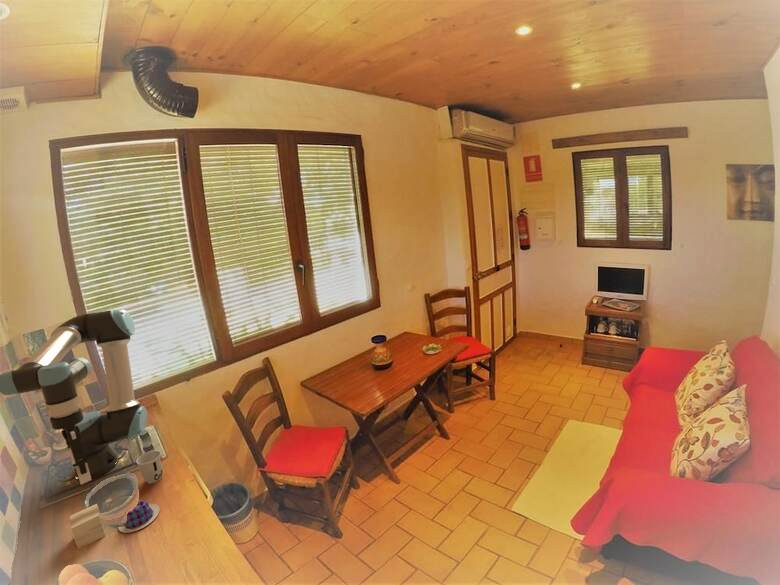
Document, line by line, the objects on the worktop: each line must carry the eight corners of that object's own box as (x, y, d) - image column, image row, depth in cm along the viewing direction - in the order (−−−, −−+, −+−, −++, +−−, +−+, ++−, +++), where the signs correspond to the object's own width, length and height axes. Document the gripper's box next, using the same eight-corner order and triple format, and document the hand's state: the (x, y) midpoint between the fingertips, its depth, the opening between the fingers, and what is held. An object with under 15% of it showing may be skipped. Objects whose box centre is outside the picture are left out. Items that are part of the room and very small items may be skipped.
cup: (158, 486, 143) (152, 463, 141) (137, 487, 143) (131, 464, 141) (170, 471, 151) (165, 449, 148) (150, 472, 151) (145, 450, 149)
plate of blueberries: (156, 500, 136) (153, 487, 135) (162, 519, 127) (159, 506, 126) (116, 519, 129) (113, 506, 128) (120, 541, 120) (116, 527, 119)
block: (76, 536, 123) (70, 515, 121) (103, 523, 127) (96, 503, 125) (78, 549, 118) (71, 528, 116) (105, 535, 122) (99, 515, 120)
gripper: (44, 406, 122) (61, 465, 125) (54, 430, 105) (73, 496, 109) (74, 397, 127) (89, 453, 131) (88, 418, 110) (104, 482, 114)
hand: (82, 473), depth 120 cm, fingers open, 13 cm apart
